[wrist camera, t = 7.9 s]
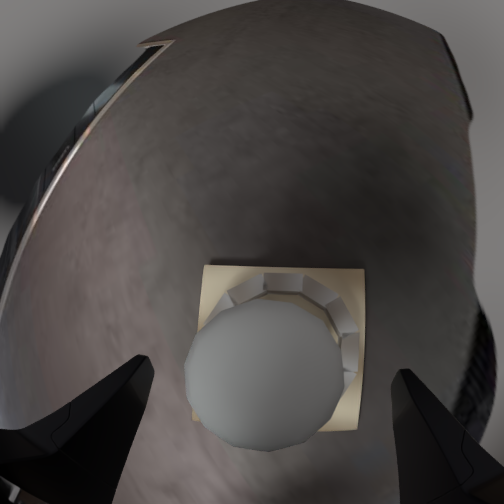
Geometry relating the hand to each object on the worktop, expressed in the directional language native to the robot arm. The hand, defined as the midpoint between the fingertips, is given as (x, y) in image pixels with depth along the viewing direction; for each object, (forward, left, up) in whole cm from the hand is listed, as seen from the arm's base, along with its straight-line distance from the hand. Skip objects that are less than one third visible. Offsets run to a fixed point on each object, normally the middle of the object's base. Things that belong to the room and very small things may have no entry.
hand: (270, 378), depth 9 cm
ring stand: (0, 0, -11) cm, 11 cm away
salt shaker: (0, 0, -10) cm, 10 cm away
